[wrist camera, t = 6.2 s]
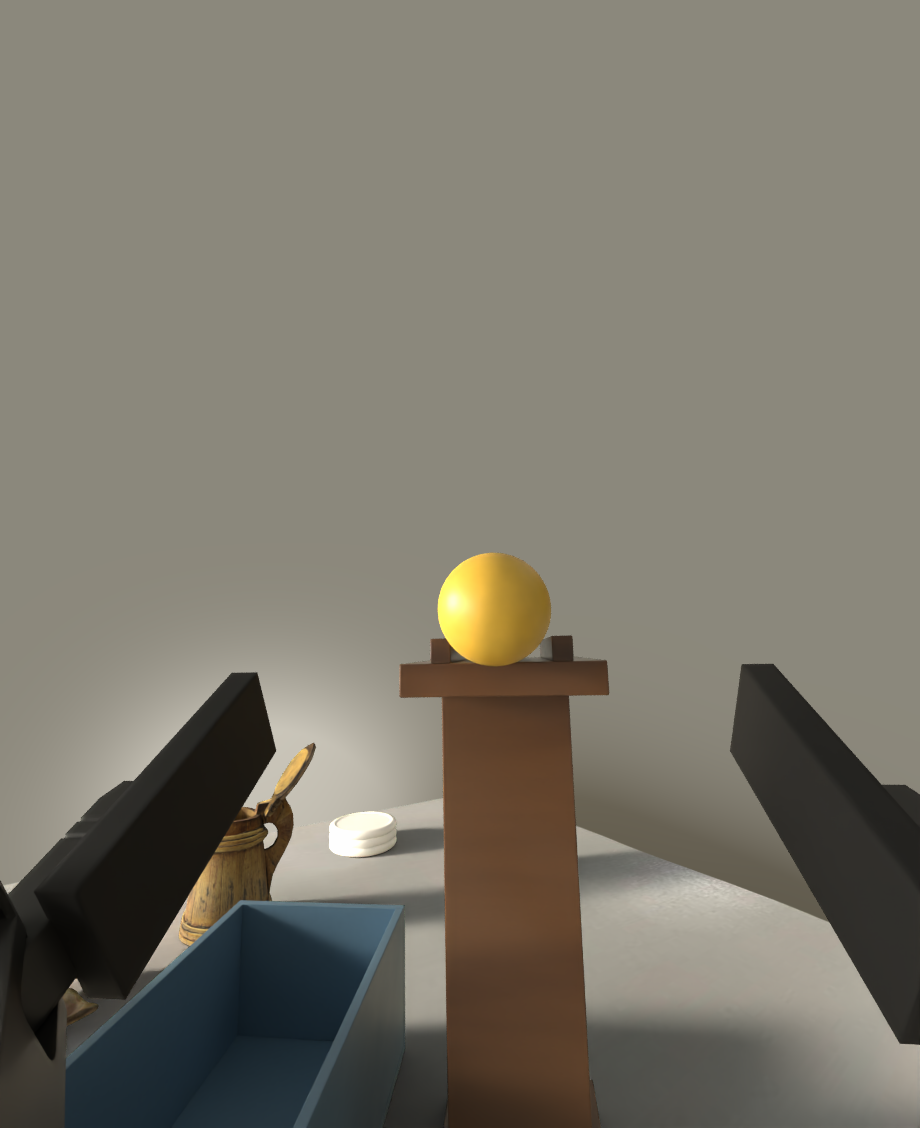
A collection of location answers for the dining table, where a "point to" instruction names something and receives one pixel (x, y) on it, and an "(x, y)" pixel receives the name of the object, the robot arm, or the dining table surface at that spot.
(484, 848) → the display stand
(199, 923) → the wooden mug
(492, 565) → the yellow capsule
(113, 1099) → the open box
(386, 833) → the coaster
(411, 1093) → the dining table surface
